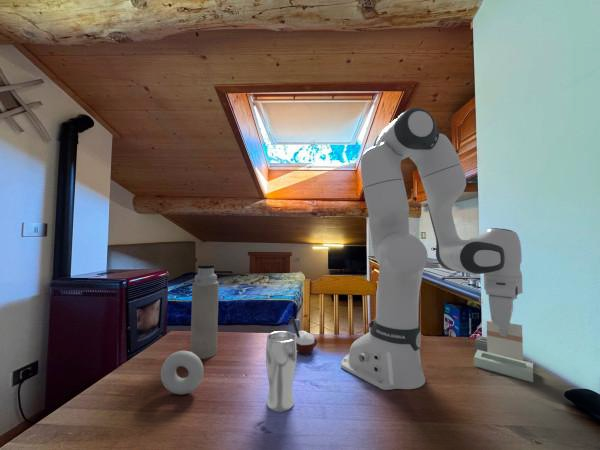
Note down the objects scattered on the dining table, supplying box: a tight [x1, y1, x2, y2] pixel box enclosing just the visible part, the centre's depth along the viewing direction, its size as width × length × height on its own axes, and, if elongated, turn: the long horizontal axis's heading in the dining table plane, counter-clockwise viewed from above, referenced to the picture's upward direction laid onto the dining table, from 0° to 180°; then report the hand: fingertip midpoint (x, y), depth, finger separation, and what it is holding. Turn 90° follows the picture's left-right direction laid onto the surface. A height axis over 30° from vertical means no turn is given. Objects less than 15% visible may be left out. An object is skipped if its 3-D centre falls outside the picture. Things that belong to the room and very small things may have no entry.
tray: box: [473, 350, 534, 383], centre depth 77 cm, size 13×7×4 cm, turn 50°
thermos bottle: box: [189, 263, 220, 360], centre depth 87 cm, size 8×8×28 cm
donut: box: [160, 350, 205, 395], centre depth 65 cm, size 10×4×10 cm, turn 90°
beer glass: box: [265, 330, 298, 413], centre depth 62 cm, size 7×7×15 cm
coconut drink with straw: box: [290, 315, 318, 356], centre depth 88 cm, size 10×6×12 cm, turn 98°
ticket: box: [486, 319, 524, 361], centre depth 77 cm, size 8×2×9 cm, turn 50°
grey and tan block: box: [474, 335, 520, 360], centre depth 85 cm, size 11×6×5 cm, turn 50°
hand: (503, 334), depth 77 cm, fingers closed on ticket, 2 cm apart
